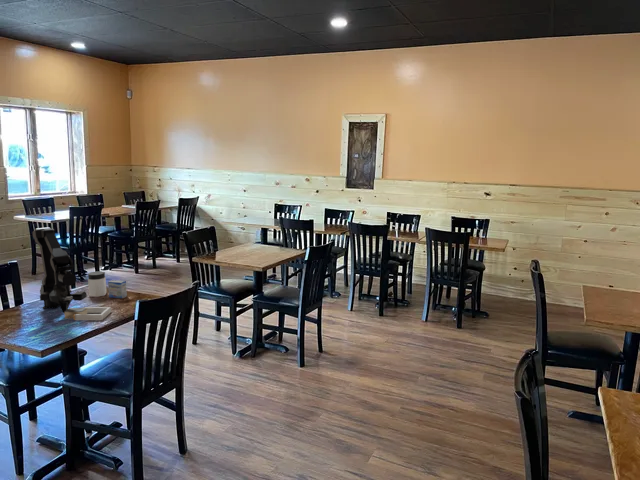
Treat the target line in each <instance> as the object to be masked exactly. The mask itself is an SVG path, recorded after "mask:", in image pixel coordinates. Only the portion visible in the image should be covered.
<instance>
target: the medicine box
mask: <svg viewBox="0 0 640 480" xmlns="http://www.w3.org/2000/svg"><path fill="white" fill-rule="evenodd" d="M107 285H108V286H107V287H108V298H111V299H124V298H126V297H127V296H128V293H127V291H128V290H127V281H126V280H117V279H112V280H109V281H108V284H107Z"/></svg>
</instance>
